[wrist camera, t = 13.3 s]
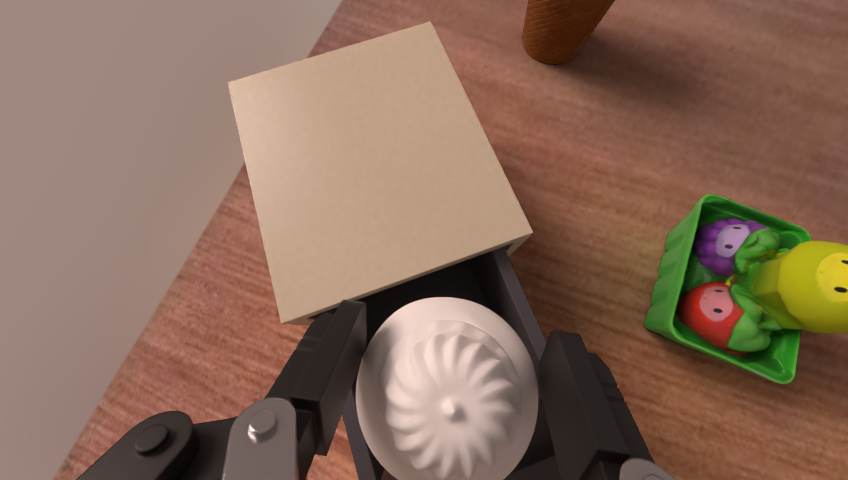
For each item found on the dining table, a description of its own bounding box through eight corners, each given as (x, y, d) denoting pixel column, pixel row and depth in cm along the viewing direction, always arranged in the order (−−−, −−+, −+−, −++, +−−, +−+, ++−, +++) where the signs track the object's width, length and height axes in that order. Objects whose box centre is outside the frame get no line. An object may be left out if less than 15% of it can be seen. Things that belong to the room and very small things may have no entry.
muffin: (539, 407, 14) (644, 479, 7) (414, 485, 13) (395, 649, 6) (467, 281, 15) (494, 240, 9) (352, 344, 15) (282, 353, 8)
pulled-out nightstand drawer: (558, 430, 23) (635, 489, 14) (393, 498, 22) (368, 605, 13) (474, 234, 27) (494, 189, 18) (333, 284, 26) (286, 261, 18)
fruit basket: (656, 213, 28) (797, 139, 17) (761, 254, 27) (984, 201, 16) (622, 334, 25) (764, 336, 14) (737, 385, 24) (986, 430, 13)
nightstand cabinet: (494, 270, 27) (533, 232, 17) (341, 327, 26) (280, 324, 16) (431, 123, 31) (430, 20, 21) (297, 167, 30) (227, 82, 20)
